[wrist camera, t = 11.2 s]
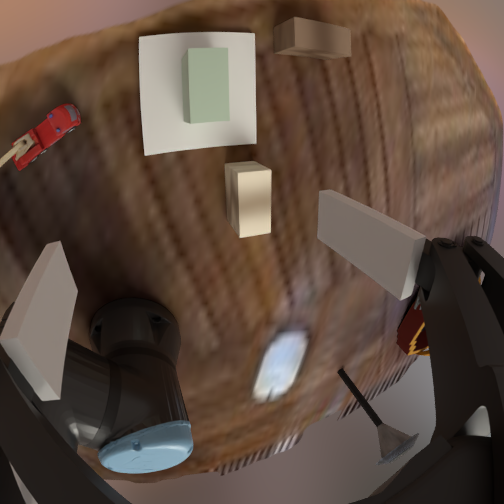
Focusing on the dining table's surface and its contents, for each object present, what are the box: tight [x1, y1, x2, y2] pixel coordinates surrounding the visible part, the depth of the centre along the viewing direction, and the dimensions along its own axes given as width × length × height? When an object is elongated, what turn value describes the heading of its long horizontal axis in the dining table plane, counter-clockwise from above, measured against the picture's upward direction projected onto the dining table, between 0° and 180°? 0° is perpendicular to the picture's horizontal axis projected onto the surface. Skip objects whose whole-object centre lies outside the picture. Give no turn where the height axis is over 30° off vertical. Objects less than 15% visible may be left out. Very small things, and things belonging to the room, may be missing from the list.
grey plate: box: [139, 32, 256, 156], centre depth 30 cm, size 15×14×1 cm
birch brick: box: [225, 161, 271, 238], centre depth 36 cm, size 8×4×6 cm, turn 1°
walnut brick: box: [274, 17, 351, 60], centre depth 29 cm, size 8×4×6 cm, turn 90°
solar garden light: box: [338, 369, 419, 465], centre depth 58 cm, size 12×12×30 cm
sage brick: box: [181, 48, 230, 124], centre depth 27 cm, size 8×4×6 cm, turn 1°
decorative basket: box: [397, 277, 481, 356], centre depth 68 cm, size 34×29×15 cm
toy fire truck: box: [0, 103, 81, 171], centre depth 22 cm, size 3×14×10 cm, turn 112°
